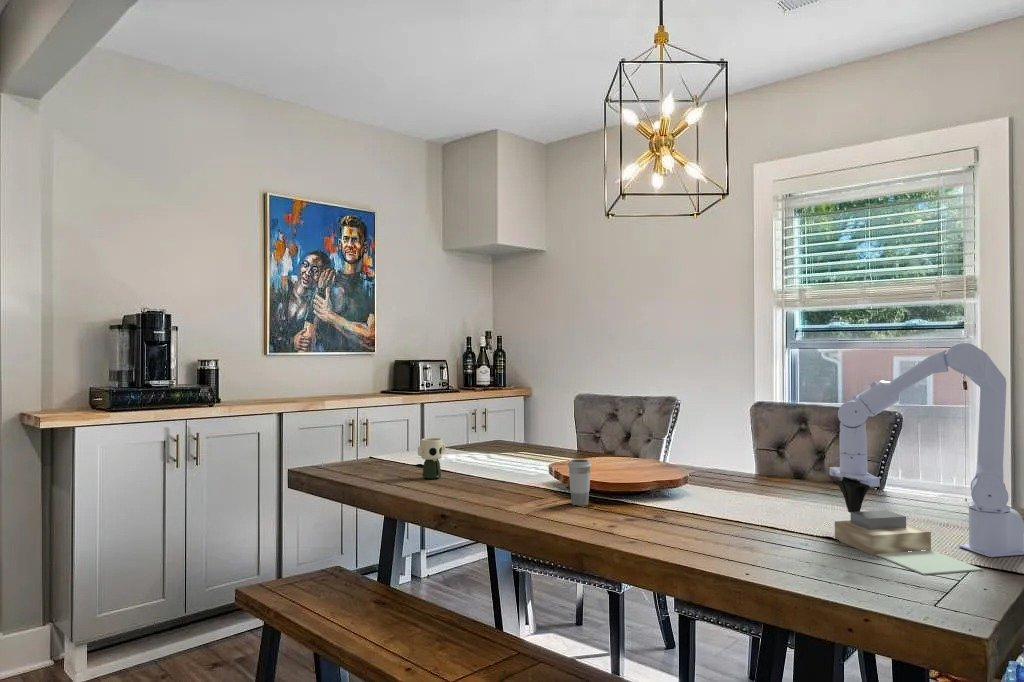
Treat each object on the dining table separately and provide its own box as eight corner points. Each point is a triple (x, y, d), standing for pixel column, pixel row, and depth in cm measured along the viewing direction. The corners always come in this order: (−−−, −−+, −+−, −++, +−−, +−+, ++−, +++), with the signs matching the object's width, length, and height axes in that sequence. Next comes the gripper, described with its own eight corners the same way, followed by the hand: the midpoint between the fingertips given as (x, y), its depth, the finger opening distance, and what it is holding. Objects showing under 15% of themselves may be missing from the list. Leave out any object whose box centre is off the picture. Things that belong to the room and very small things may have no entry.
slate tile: (886, 520, 155) (886, 510, 155) (906, 527, 149) (906, 516, 149) (850, 522, 154) (850, 512, 154) (869, 529, 148) (869, 518, 148)
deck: (889, 535, 158) (889, 518, 158) (931, 550, 146) (930, 531, 146) (834, 539, 155) (834, 521, 155) (872, 554, 143) (872, 535, 143)
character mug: (424, 482, 224) (424, 441, 224) (412, 479, 229) (411, 439, 229) (451, 477, 231) (451, 438, 231) (438, 474, 237) (438, 436, 237)
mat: (930, 551, 145) (930, 550, 145) (982, 570, 133) (982, 568, 133) (876, 555, 143) (876, 554, 143) (923, 575, 131) (923, 573, 131)
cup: (588, 507, 187) (588, 463, 187) (564, 506, 189) (564, 462, 189) (594, 502, 194) (594, 459, 194) (571, 500, 196) (570, 458, 196)
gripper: (817, 449, 166) (818, 506, 165) (859, 458, 151) (860, 521, 151) (844, 448, 167) (844, 504, 167) (887, 457, 153) (888, 519, 153)
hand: (853, 512), depth 159 cm, fingers closed
